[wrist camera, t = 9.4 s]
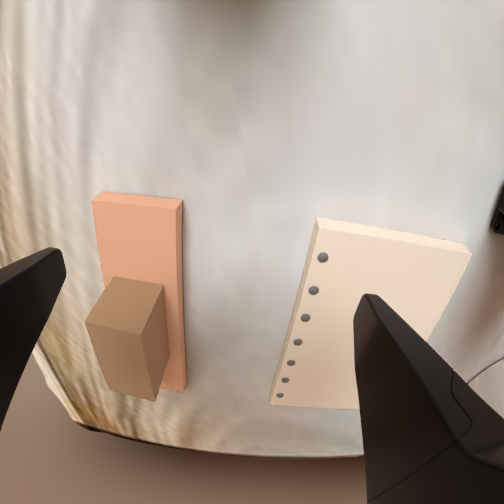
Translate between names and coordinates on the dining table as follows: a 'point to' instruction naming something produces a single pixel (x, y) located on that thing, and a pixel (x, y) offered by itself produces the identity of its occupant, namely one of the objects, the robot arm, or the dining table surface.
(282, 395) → the board
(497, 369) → the utensil holder
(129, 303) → the stub
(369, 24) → the dining table surface
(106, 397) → the dining table surface
